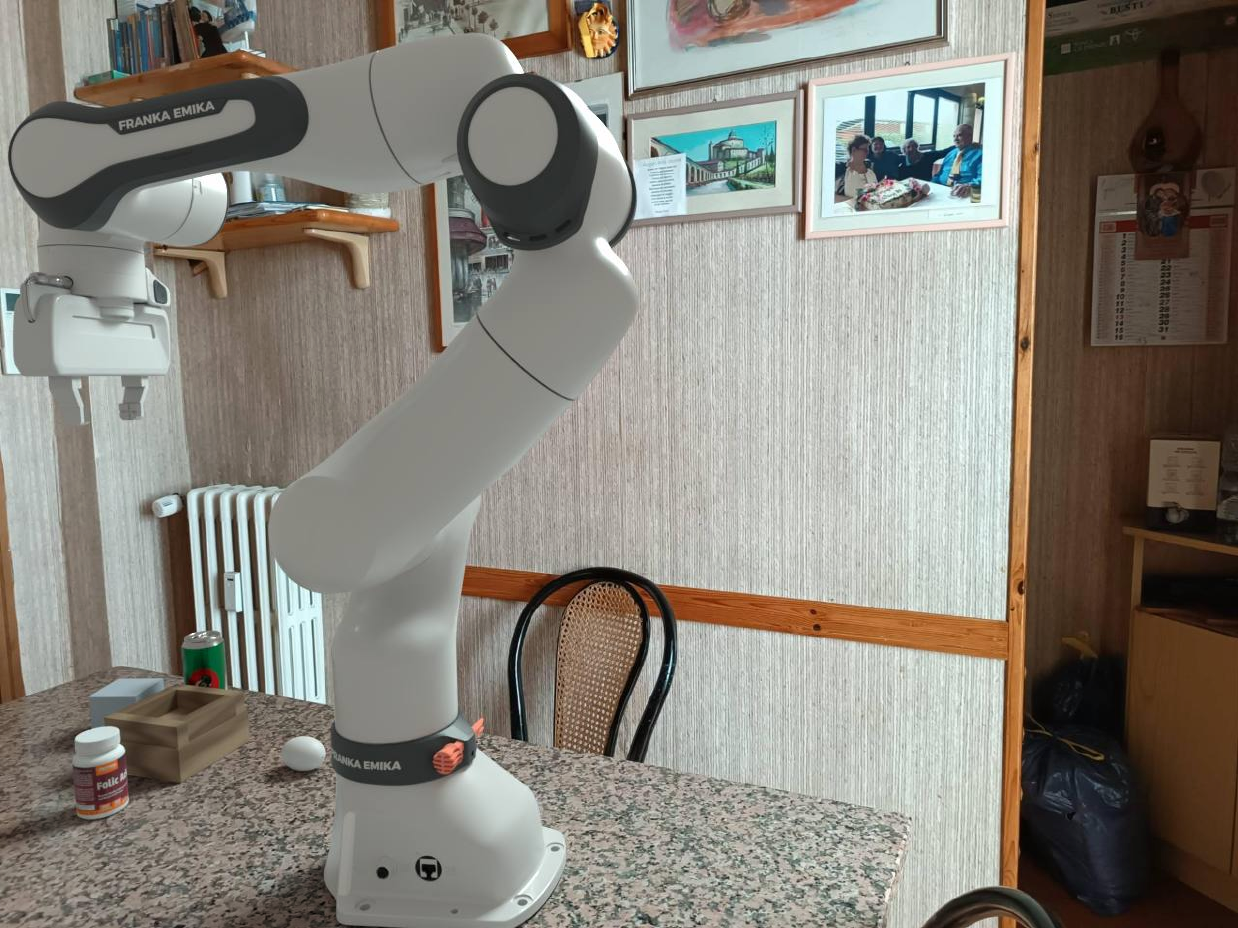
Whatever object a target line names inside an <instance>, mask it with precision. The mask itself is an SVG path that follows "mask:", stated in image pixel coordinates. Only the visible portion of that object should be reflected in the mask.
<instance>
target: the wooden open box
mask: <svg viewBox="0 0 1238 928" xmlns="http://www.w3.org/2000/svg"><path fill="white" fill-rule="evenodd" d="M249 719H250V718H249V709H246V704H245V692H244V691H240V690H232V689H228V690H225V689H216V688H207V687H199V686H190V685H184V684H180V683H175V684H173V685H171V686H169V687H167V688H164V690H162V691H160V692H158V693H156V694H153V695H151V696H149V697H147V698H145V699H143V700H141V701H138V702H136V703H134V704H132V705H130V706H128V707H126V708H123V709H121V710H119V711H117V712H115V713H113V714H110V715H108V716H106V717H104V722H105V727H107V726H112V727H116V728H118V729H119V731H120V743H119V744H121V745H122V746H123V747H124V749H125V754H126V770H127V776H134V777H141V778H148V779H153V780H160V781H165V782H173V783H180V784H182V783H183V782H185V781H186V780H188V779H190V778H192V777H193V776H195V775H197V774H198V773H200V772H202V771H203V770H204V769H206V768H209V766H211V765H212V764H215V763H216V762H217V761H219V760H221V759H222V758H224V757H226V756H227V755H229V754H230V753H232V752H234V751H235V750H236V749H239V748H240V747H242V746H243V745H245V744H247V743H248V742H250V741H251V732H250V720H249ZM191 776H192V777H191Z"/></svg>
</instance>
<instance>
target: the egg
mask: <svg viewBox="0 0 1238 928" xmlns="http://www.w3.org/2000/svg"><path fill="white" fill-rule="evenodd" d="M325 758H326V748H325V747H324V744H323V743H322V742H321V741H320V740H318V739H316V738H314V737H312V736H307V735H306V736H300V735H299V736H296V737H294V738H292V739H290V740H288V741H287V742H286V743H285V744H284V745H283V746H282V749H281V759H282V761H283V763H284V765H286V766H287V767H289V768H290V769H292V770H294V771H299V772H309V771H312V770H315V769H317V768H318V767H320V766H321V765H322V764H323V762H324V761H325Z"/></svg>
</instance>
